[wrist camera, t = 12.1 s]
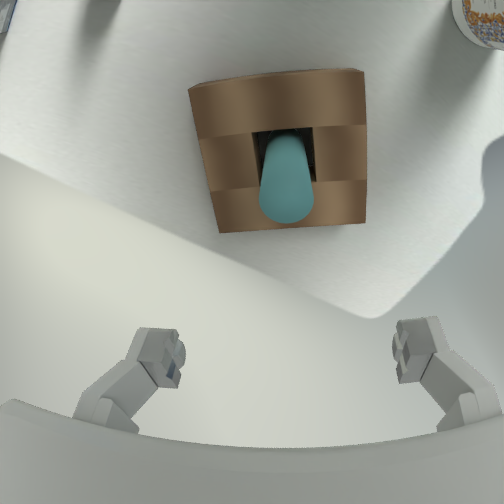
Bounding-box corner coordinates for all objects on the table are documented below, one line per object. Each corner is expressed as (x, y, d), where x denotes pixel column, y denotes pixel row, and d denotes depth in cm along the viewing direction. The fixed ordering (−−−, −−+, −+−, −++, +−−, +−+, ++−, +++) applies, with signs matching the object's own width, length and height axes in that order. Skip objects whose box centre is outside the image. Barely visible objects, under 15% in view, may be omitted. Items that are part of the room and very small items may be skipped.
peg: (301, 124, 28) (312, 172, 18) (304, 158, 30) (315, 221, 20) (265, 127, 29) (255, 177, 19) (269, 160, 31) (262, 225, 21)
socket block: (353, 68, 24) (363, 71, 21) (357, 203, 32) (365, 223, 29) (199, 83, 26) (187, 89, 23) (225, 212, 35) (219, 233, 31)
